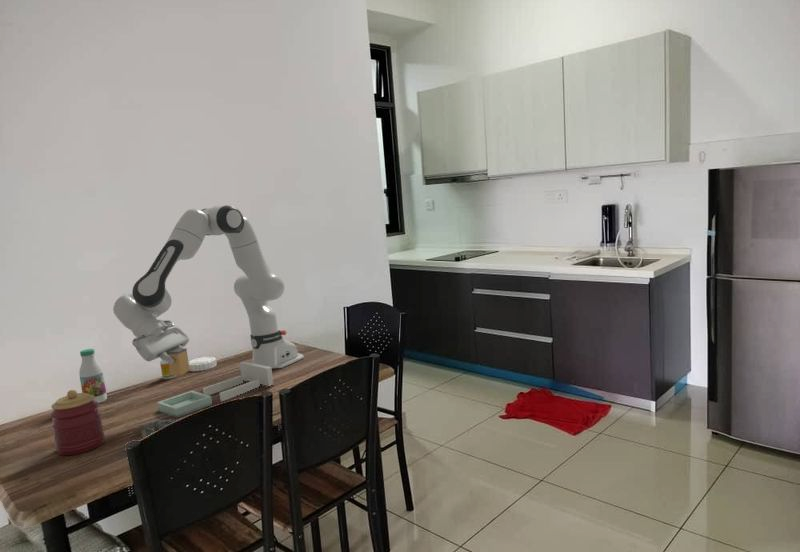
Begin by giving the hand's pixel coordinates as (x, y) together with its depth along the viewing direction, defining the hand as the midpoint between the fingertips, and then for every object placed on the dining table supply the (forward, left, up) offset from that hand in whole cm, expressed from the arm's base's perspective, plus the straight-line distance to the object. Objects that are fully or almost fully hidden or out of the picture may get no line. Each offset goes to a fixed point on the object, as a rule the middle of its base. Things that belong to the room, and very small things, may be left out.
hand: (179, 359), depth 193 cm
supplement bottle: (-16, -44, -17) cm, 49 cm away
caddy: (0, -1, -5) cm, 5 cm away
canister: (+34, 0, -17) cm, 38 cm away
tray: (0, -1, -17) cm, 17 cm away
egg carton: (+16, +14, -18) cm, 28 cm away
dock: (-20, 0, -17) cm, 26 cm away
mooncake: (-31, -44, -18) cm, 56 cm away
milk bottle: (+14, -42, -17) cm, 47 cm away
